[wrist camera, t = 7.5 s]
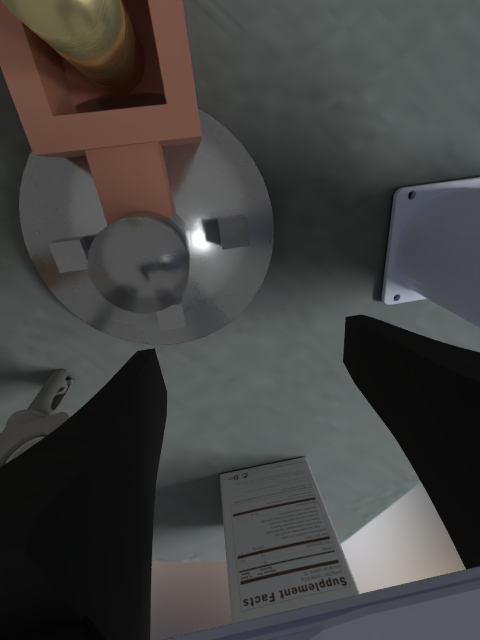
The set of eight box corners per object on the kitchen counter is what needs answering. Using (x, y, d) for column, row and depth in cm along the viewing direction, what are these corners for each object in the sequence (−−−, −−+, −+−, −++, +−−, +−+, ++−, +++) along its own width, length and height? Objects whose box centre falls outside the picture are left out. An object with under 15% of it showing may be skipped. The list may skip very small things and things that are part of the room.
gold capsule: (140, 17, 13) (90, -122, 7) (148, 96, 14) (111, 39, 8) (71, 11, 13) (-47, -140, 6) (86, 93, 14) (-2, 32, 8)
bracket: (174, -32, 13) (165, -118, 9) (209, 203, 18) (213, 213, 14) (16, -20, 13) (-65, -106, 9) (93, 218, 17) (63, 233, 13)
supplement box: (308, 508, 34) (383, 730, 20) (230, 524, 33) (253, 764, 20) (308, 453, 29) (401, 688, 16) (218, 471, 29) (238, 730, 15)
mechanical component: (-16, 386, 21) (-165, 540, 12) (118, 338, 21) (62, 461, 12) (12, 414, 23) (-105, 571, 14) (138, 369, 22) (100, 501, 14)
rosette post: (261, 83, 16) (302, 28, 10) (275, 319, 22) (305, 375, 16) (-20, 112, 15) (-169, 72, 9) (81, 350, 21) (36, 423, 15)
